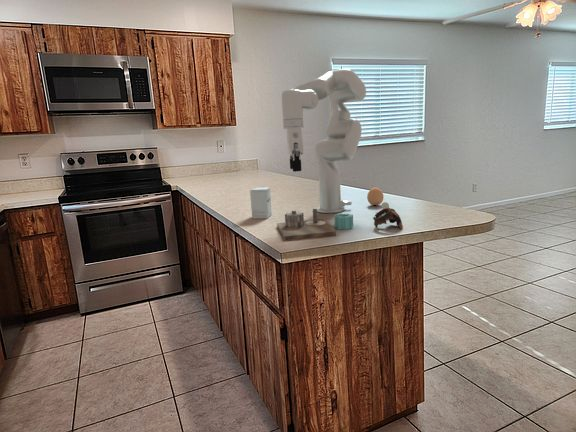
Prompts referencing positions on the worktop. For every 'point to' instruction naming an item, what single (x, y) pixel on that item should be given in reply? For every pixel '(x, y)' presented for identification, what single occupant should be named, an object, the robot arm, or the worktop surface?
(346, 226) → the teal gear
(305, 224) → the gear board
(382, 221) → the brown arched figurine
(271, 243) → the worktop surface
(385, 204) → the pacifier
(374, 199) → the egg
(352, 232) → the worktop surface
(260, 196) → the supplement box
